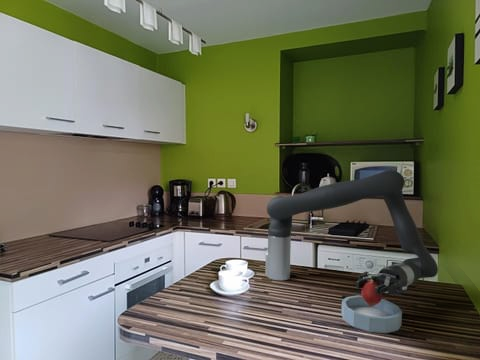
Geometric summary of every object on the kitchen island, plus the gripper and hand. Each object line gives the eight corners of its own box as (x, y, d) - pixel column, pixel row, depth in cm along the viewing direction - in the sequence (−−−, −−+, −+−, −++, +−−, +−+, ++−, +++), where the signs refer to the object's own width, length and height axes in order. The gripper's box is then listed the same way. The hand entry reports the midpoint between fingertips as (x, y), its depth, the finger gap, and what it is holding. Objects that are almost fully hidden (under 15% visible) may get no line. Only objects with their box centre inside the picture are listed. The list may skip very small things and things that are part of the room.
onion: (364, 300, 101) (365, 274, 101) (384, 305, 98) (385, 279, 97) (358, 306, 97) (358, 279, 96) (378, 312, 93) (379, 284, 93)
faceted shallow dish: (333, 320, 96) (334, 307, 96) (352, 303, 108) (353, 291, 108) (392, 338, 86) (393, 323, 86) (405, 317, 98) (406, 304, 98)
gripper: (376, 260, 111) (345, 268, 101) (419, 270, 100) (390, 282, 89) (375, 281, 111) (345, 292, 101) (419, 295, 100) (390, 309, 90)
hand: (366, 287), depth 95 cm, fingers closed on onion, 5 cm apart
